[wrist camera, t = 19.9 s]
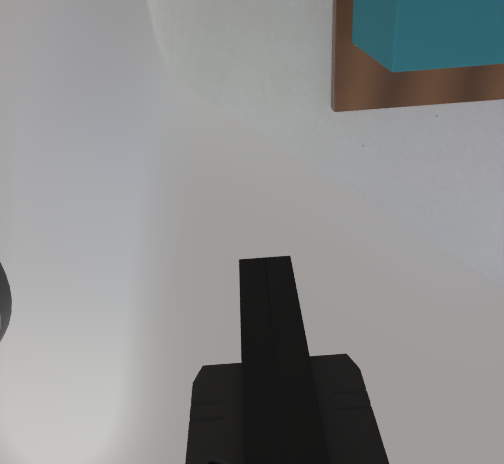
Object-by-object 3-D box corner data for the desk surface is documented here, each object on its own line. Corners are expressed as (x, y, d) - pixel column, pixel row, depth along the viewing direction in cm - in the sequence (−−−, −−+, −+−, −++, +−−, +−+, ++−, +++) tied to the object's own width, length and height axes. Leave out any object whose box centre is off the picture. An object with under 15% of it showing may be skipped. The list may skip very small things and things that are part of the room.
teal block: (351, 42, 31) (392, 72, 23) (354, -46, 28) (401, -47, 20) (474, 33, 31) (556, 59, 23) (488, -57, 28) (586, -62, 20)
